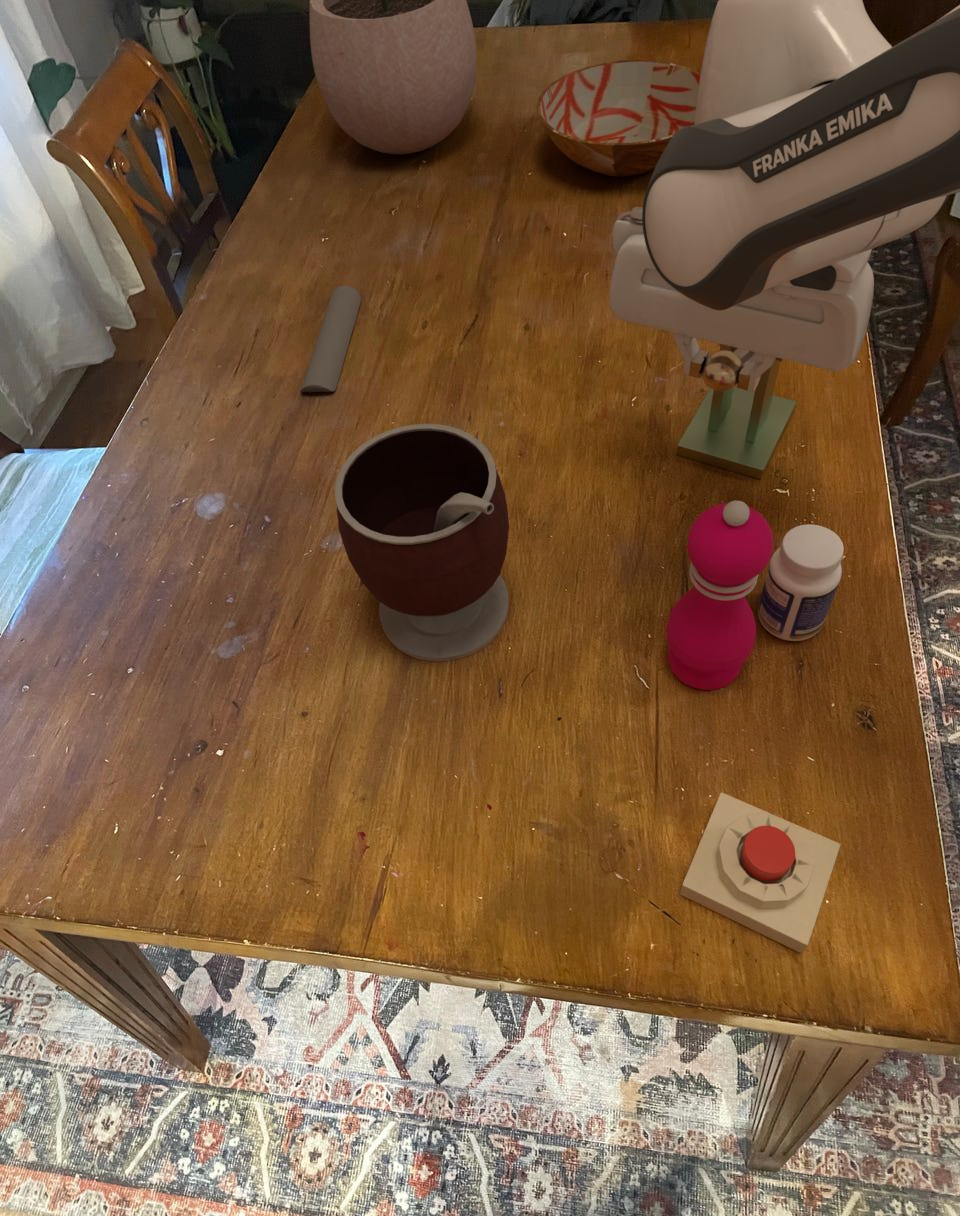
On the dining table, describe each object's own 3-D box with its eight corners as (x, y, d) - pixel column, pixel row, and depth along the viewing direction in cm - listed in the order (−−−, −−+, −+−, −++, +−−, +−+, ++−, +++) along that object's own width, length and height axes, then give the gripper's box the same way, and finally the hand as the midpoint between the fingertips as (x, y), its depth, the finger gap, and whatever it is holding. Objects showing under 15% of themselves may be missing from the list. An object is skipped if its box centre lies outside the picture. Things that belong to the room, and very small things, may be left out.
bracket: (760, 480, 86) (785, 378, 75) (675, 454, 89) (688, 354, 78) (794, 411, 91) (821, 307, 80) (713, 390, 94) (729, 287, 84)
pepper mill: (665, 622, 77) (686, 463, 61) (747, 629, 75) (792, 469, 59) (659, 690, 73) (681, 540, 57) (747, 700, 71) (794, 549, 55)
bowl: (732, 126, 127) (740, 67, 121) (680, 214, 115) (686, 154, 108) (575, 108, 135) (575, 52, 129) (511, 189, 123) (507, 132, 116)
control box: (833, 854, 63) (847, 834, 60) (801, 953, 60) (813, 938, 56) (717, 802, 66) (724, 781, 63) (679, 894, 63) (684, 876, 59)
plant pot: (320, 185, 129) (259, -54, 105) (349, 110, 143) (301, -117, 118) (476, 178, 126) (450, -70, 101) (491, 102, 139) (471, -133, 115)
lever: (731, 399, 71) (742, 359, 70) (692, 389, 73) (702, 349, 71) (768, 365, 82) (778, 330, 80) (733, 357, 83) (743, 322, 82)
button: (796, 847, 60) (801, 838, 59) (781, 890, 59) (786, 882, 57) (749, 826, 61) (753, 817, 60) (733, 867, 60) (737, 859, 58)
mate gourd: (342, 613, 81) (281, 463, 65) (445, 528, 86) (412, 368, 70) (456, 707, 74) (419, 565, 58) (561, 608, 79) (555, 451, 63)
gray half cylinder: (299, 397, 100) (295, 385, 99) (331, 297, 111) (328, 285, 110) (334, 397, 100) (330, 384, 98) (362, 296, 111) (359, 284, 109)
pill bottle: (826, 597, 77) (854, 525, 68) (820, 649, 73) (848, 579, 65) (760, 585, 78) (780, 513, 70) (751, 636, 75) (772, 566, 67)
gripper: (597, 224, 64) (595, 371, 75) (877, 280, 57) (829, 434, 68) (630, 182, 67) (624, 330, 78) (900, 230, 60) (851, 385, 71)
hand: (721, 379), depth 73 cm, fingers closed on lever, 3 cm apart
